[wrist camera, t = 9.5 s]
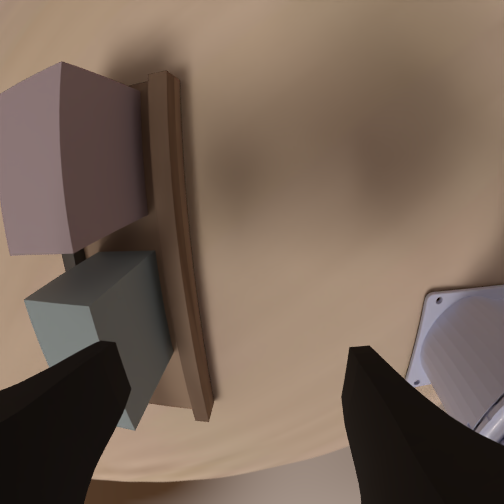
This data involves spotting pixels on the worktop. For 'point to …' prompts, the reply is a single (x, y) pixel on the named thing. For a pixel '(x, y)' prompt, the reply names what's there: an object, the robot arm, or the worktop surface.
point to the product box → (108, 319)
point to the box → (69, 160)
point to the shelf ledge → (166, 246)
